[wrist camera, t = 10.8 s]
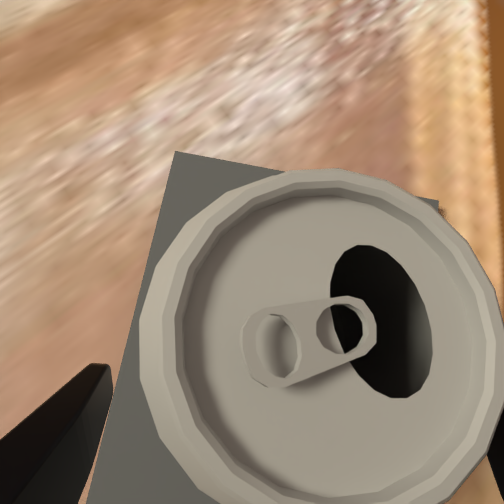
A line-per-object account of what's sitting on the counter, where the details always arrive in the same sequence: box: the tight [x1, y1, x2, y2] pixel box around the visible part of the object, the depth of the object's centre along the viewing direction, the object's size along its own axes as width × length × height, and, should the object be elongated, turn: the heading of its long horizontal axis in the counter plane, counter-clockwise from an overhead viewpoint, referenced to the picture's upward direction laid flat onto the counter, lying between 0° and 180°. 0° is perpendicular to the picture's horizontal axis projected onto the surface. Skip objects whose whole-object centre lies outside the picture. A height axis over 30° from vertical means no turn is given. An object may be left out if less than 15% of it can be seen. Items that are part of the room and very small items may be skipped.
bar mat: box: [86, 151, 439, 504], centre depth 18 cm, size 22×15×1 cm
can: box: [139, 168, 504, 504], centre depth 12 cm, size 8×8×12 cm
